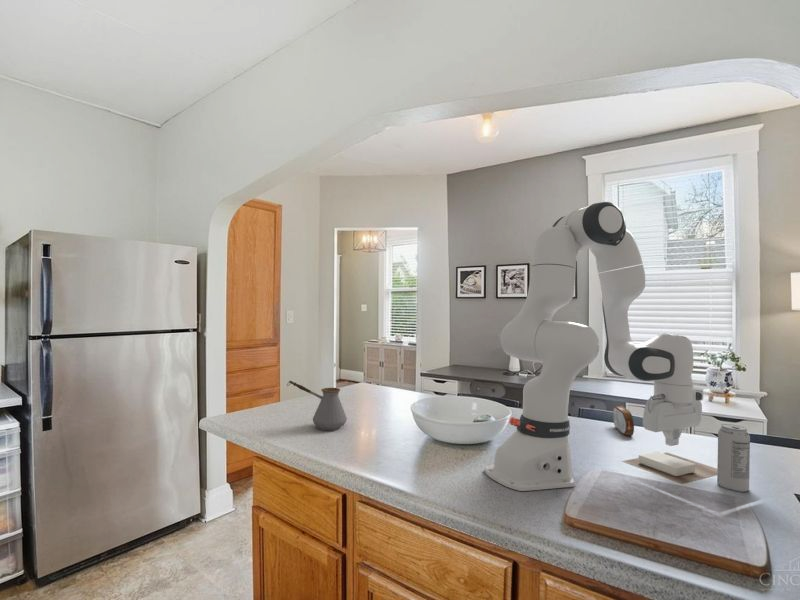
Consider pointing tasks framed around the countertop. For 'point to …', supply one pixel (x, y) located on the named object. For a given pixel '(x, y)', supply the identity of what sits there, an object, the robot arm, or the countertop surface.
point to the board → (700, 473)
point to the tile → (667, 463)
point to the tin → (623, 420)
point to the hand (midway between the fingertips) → (671, 444)
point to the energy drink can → (733, 458)
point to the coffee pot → (327, 409)
